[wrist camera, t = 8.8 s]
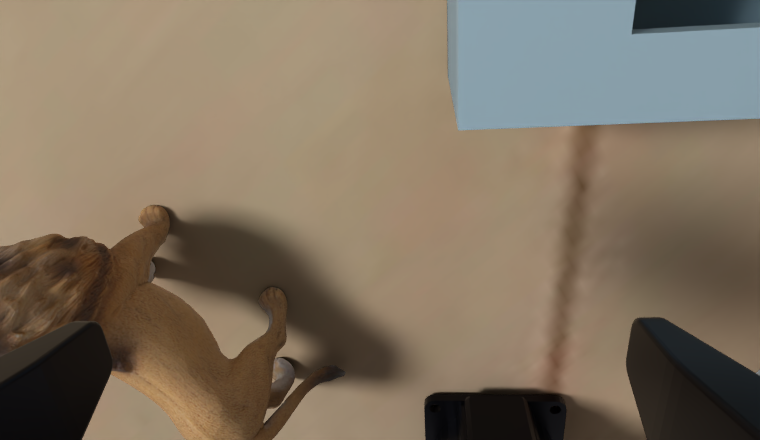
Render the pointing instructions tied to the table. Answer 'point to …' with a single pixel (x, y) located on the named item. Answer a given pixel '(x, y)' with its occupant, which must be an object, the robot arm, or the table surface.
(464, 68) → the tissue box
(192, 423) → the lion figurine
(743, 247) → the table surface
